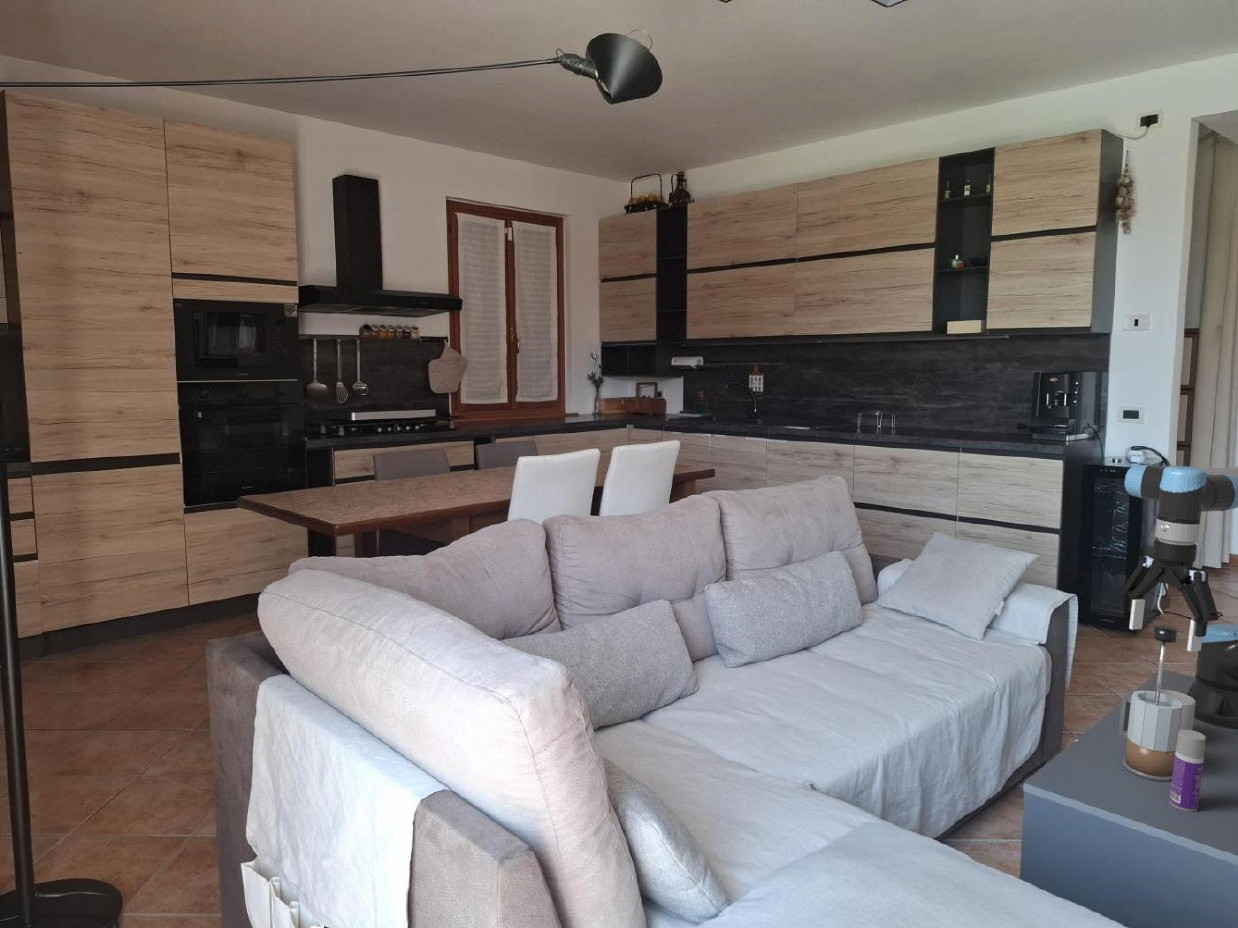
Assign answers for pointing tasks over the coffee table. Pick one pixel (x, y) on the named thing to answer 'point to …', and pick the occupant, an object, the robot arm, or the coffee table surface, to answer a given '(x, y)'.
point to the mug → (1184, 708)
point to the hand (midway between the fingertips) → (1163, 639)
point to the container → (1187, 770)
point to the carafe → (1150, 735)
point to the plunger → (1162, 658)
